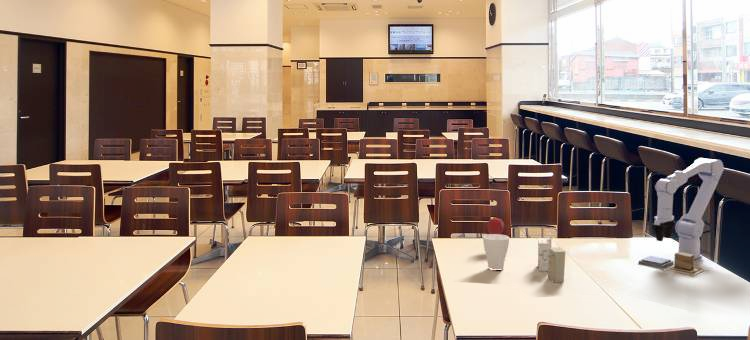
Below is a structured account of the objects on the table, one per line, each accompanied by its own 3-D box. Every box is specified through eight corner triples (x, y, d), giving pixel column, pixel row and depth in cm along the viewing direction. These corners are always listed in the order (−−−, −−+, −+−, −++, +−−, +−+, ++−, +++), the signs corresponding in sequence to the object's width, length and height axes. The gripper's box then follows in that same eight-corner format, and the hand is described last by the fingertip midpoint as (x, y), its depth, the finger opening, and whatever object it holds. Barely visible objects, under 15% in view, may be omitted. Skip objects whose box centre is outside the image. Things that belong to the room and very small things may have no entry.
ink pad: (649, 259, 265) (649, 255, 264) (673, 263, 257) (673, 259, 257) (638, 263, 258) (638, 259, 258) (662, 268, 251) (662, 264, 250)
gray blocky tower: (537, 265, 257) (538, 231, 255) (549, 266, 256) (550, 231, 254) (538, 271, 249) (539, 235, 247) (551, 272, 248) (552, 236, 246)
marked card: (677, 264, 256) (677, 263, 256) (705, 269, 248) (705, 268, 248) (665, 269, 249) (665, 268, 249) (694, 275, 241) (694, 274, 241)
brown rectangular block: (678, 266, 253) (679, 251, 252) (693, 269, 248) (694, 254, 247) (674, 268, 250) (674, 253, 249) (689, 271, 245) (690, 256, 245)
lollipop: (487, 252, 279) (487, 219, 277) (486, 247, 287) (487, 216, 285) (504, 252, 278) (504, 220, 276) (503, 248, 285) (504, 216, 283)
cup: (510, 266, 256) (510, 234, 254) (507, 273, 246) (507, 240, 244) (484, 264, 259) (485, 233, 257) (480, 271, 249) (481, 238, 247)
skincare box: (547, 278, 240) (548, 247, 238) (558, 277, 240) (559, 247, 239) (553, 282, 233) (554, 251, 232) (564, 282, 234) (565, 251, 232)
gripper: (662, 204, 267) (661, 234, 268) (647, 208, 257) (646, 240, 259) (679, 206, 261) (678, 237, 263) (664, 210, 252) (663, 243, 254)
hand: (663, 239), depth 261 cm, fingers open, 7 cm apart
